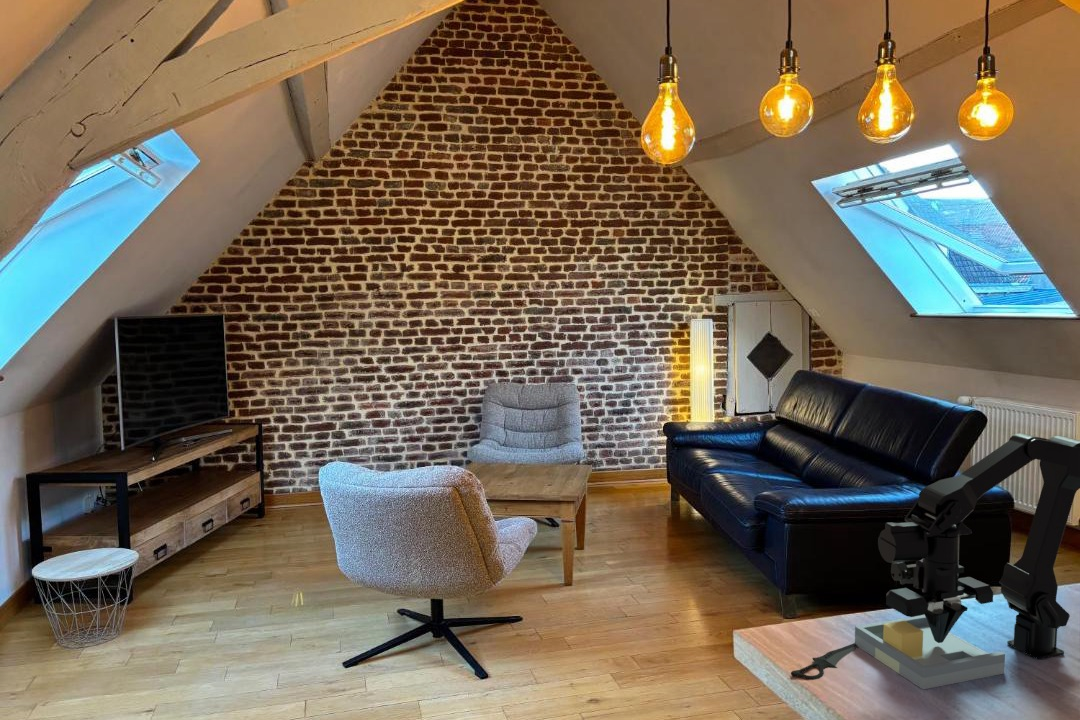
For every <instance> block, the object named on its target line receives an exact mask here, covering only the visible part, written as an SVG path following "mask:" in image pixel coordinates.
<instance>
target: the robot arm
mask: <svg viewBox="0 0 1080 720" xmlns="http://www.w3.org/2000/svg"><path fill="white" fill-rule="evenodd" d="M1034 460H1039V469H1040V473H1041V476H1042V479H1043V484H1042V488H1041V491H1040V494H1039V497H1038V501H1037V504H1036V508H1035V511H1034V515H1033V517H1032V521H1031V524H1030V525H1031V526H1030V528H1029V532H1028V535H1027V539H1026V542H1025V546H1024V548H1023V552H1022V555H1021V557H1020V559H1018V560H1017V561H1016V562H1014V563H1013V564H1011V563H1009V562H1006V563H1005V564H1004V566H1003V572H1002V576H1001V578H1000V580H999V581H998V583H999V584H1000V594H1002V596H1003V597H1004V599H1005V601H1007V605H1008V608H1009V609H1011V610H1013V611H1015V612H1017V613H1018V614H1016V615H1015V624H1014V628H1013V630H1014V631H1013V639H1011V640H1007V642H1006V643H1007V645H1009V646H1011V647H1013V648H1015V649H1016V650H1019V651H1020V652H1023V653H1024V654H1026V655H1028V656H1030V657H1031V658H1034V659H1036V660H1041V659H1047V658H1051V657H1056V656H1062V655H1064V654H1065V650H1063V649H1061V648H1058V647H1057V643H1058V642H1057V641H1058V640H1057V639H1058V629H1059V628H1060V627H1066V626H1067V625H1068V622H1069V619H1070V617H1071V616H1070V614H1069V612H1067V610H1066V609H1065V608H1064V607H1063V606H1061V605H1060V604H1059V603H1058V602H1057V596H1058V587H1059V586H1058V581H1057V578H1056V574H1055V571H1054V566H1055V563H1056V559H1057V557H1058V552H1059V550H1060V546H1061V543H1062V540H1063V536H1064V533H1065V530H1066V526H1067V523H1068V520H1069V518H1070V517H1069V516H1070V512H1071V509H1072V506H1073V502H1074V500H1075V496H1076V493H1077V492H1078V490H1080V440H1078V439H1075V438H1070V437H1066V436H1063V435H1054V436H1051V437H1050V438H1049V439H1048V438H1044V437H1039V436H1034V435H1030V434H1026V433H1021V432H1020V433H1015V434H1013V435H1012V436H1010V437H1009V439H1008V440H1007V441H1006V442H1005V443H1004V444H1001V446H999V447H997V448H996V449H995V450H993V451H992V452H990V453H989V454H988V455H986V456H984V457H983V458H981V459H980V460H978V461H977V462H976V463H975V464H972V466H970V467H969V468H967V469H966V470H964V471H963V472H961V473H960V474H958V475H955V476H952V477H948V478H947V477H946V478H943V479H942V478H941V479H939V480H937V481H935V482H934V483H931V484H929V485H927V486H925V487H923V488H922V490H920V491H919V493H918V499H917V500H916V501H915V503H914V504H913V505H912V507H911V508H910V510H909V511H908V513H907V514H905V516H904V521H905V522H885V523H884V524H885V525H884V529H882V530H881V532H880V533H879V536H878V538H877V545H878V546H877V547H878V550H879V553H880V556H881V557H882V559H883V560H884V561H885V562H887V563H891V567H890V574H891V578H892V579H893V580H894V581H897V582H898V581H899V582H900V583H899V584H900V585H905V584H913V588H915V589H917V590H921V591H922V592H919V593H918V592H916V591H913V590H911V589H909V588H907V587H902V588H897V589H896V588H895V589H890V590H889V591H887V593H885V594H886V596H885V605H886V606H887V607H890V608H891V609H893V610H894V611H897V612H898V613H900V614H902V615H904V616H905V617H907V618H908V617H915V616H920V615H925V617H926V619H927V621H928V624H929V626H930V629H931V632H932V635H933V637H934V640H935V641H936V642H938V643H942V642H943V641H944V639H945V638H946V636H947V635H948V633H949V632H950V631H951V630H952V628H953V627H954V626H955V625H956V623H957V621H958V620H959V619H960V617H961V616H962V615H963V613H965V612H967V611H968V606H965V605H963V604H962V601H961V600H962V598H966V597H972V596H975V600H976V602H978V604H981V605H983V604H985V605H986V604H989V603H994V591H993V589H992V587H991V586H990V584H987V583H985V582H982V581H981V580H977V579H975V578H973V577H971V576H966V577H965V576H964V577H960V578H959V575H960V574H963V573H965V566H962V565H960V564H959V563H960V561H959V560H960V536H962V535H963V536H964V535H970V534H972V532H973V531H972V529H970V528H969V527H967V525H966V524H964V522H963V521H964V520H965V519H966V518H967V517H968V516H969V515H970V514H971V513H972V512H973V511H974V510H975V508H976V505H977V503H978V500H979V499H980V498H981V497H982V496H984V495H985V494H987V493H988V492H989V491H991V490H992V489H993V488H995V487H996V486H998V485H999V484H1001V483H1003V481H1005V480H1006V479H1008V478H1010V477H1011V476H1012V475H1013V474H1015V473H1016V472H1018V471H1019V470H1021V469H1022V468H1024V467H1025V466H1027V465H1029V464H1030V463H1031V462H1032V461H1034ZM924 516H926V517H929V518H931V519H933V520H934V521H931V520H930V519H928V518H925V517H924ZM906 562H915V563H914V564H913V563H911V564H906ZM950 633H951V632H950Z"/></svg>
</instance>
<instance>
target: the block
mask: <svg viewBox="0 0 1080 720" xmlns="http://www.w3.org/2000/svg"><path fill="white" fill-rule="evenodd" d="M883 640H884V641H885V642H887V643H889V644H890V645H892V646H893V647H895V648H897V649H898V650H900V651H901V652H903V653H905V654H906V655H908V656H909V657H911V658H913V657H918V656H922V652H923V631H922V630H920V629H918V628H917V627H915V626H913V625H911V624H910V623H908V622H906V621H899V622H893V623H887V624H884V628H883Z"/></svg>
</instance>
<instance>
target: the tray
mask: <svg viewBox="0 0 1080 720" xmlns="http://www.w3.org/2000/svg"><path fill="white" fill-rule="evenodd" d="M899 621H906V622H908V623H910V624H911V625H913V626H915V627H917V628H918V629H920V630H922V631H923V652H922V656H918V657H913V658H911V657H909V656H908V655H906V654H905V653H903V652H901V651H900V650H898V649H897V648H895V647H893V646H892V645H890V644H889V643H887V642H885V641H884V640H883V628H884V624H887V623H893V622H899ZM854 643H855V644H856V645H857V646H858V647H859V649H861V650H862V651H864V652H866V653H867V654H869V655H870V656H872V657H873V658H875V659H876V660H878V661H879V662H880V663H883V665H886V666H887V667H888V668H890V669H891V670H892V671H894V672H896V673H897V674H899V675H900V676H902V677H904V678H905V679H907V680H908V681H910V682H911V683H912V684H914V685H916V686H917V687H918V688H920V689H922V690H926V689H927V690H928V689H933V688H937V687H942V686H946V685H947V686H949V685H952V684H957V683H962V682H963V683H964V682H967V681H973V680H977V679H983V678H988V677H993V676H994V677H995V676H998V675H1004V674H1005V666H1006V665H1005V663H1006V661H1005V660H1006V653H1004V652H1002V651H1000V650H999V651H994V652H990V653H988V652H986V651H985V650H983V649H981V648H979V647H977V646H976V645H974V644H972V643H970V642H968V641H966V640H965V639H963V638H961V637H959V636H957V635H955V634H954V633H952V632H949V633H948V635H947V636H946V638H945V639H944V641H943V642H942V643H938V642H936V641H935V640H934V637H933V635H932V632H931V629H930V626H929V624H928V621H927V619H926V617H925V615H920V616H915V617H908V616H907V617H904V618H896V619H891V620H884V621H879V622H872V623H868V624H862V625H860V624H859V625H855V627H854Z"/></svg>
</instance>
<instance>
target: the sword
mask: <svg viewBox="0 0 1080 720" xmlns="http://www.w3.org/2000/svg"><path fill="white" fill-rule="evenodd" d="M858 648H859V649H860V647H858V646H857V645H856V644H855V642H853V643H850V644H848V645H845V646H842V647H840V648H837V649H833V650H831V651H828V652H826V653H825V654H823V655H820V656H817V657H812V661H813V663H811V664H809V665H807V666H805V667H803V668H800V669H797V670H792V671H791V672H790V675H791V676H792V677H798V678H801V679H805V680H811V681H812V680H817V679H820V678H822V677H823V676H824V675H825V671H824V670H825V669H826V668H827V669H828V668H833V669H838V667H837V664H838V663H839V662H840V661H842V659H843V658H845V657H846V656H847V655H849V654H850V653H853V652H854V651H855V650H857V649H858ZM813 668H817V669H818V670H819V673H817V674H815V675H807V674H804V673H805V672H807V671H808V670H811V669H813Z"/></svg>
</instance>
